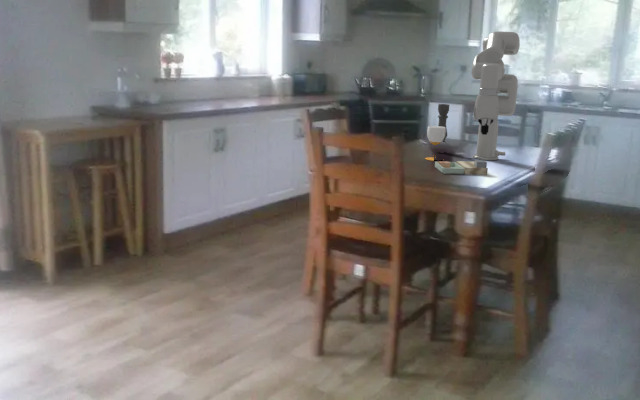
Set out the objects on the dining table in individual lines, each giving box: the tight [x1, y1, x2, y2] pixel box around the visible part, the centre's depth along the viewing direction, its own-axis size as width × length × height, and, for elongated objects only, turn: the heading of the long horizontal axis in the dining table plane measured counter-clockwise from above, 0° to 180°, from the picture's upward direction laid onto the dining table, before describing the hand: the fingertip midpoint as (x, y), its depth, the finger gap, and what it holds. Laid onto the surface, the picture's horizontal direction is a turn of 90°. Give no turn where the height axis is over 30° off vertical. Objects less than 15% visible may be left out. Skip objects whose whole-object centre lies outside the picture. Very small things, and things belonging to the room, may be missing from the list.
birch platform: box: [456, 160, 488, 176], centre depth 305 cm, size 10×16×3 cm, turn 3°
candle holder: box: [437, 103, 450, 143], centre depth 352 cm, size 6×6×25 cm
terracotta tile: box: [437, 160, 451, 168], centre depth 309 cm, size 4×4×2 cm
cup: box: [424, 125, 447, 162], centre depth 330 cm, size 9×9×16 cm
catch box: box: [434, 161, 465, 175], centre depth 305 cm, size 10×16×2 cm, turn 3°
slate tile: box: [473, 159, 488, 168], centre depth 300 cm, size 4×4×2 cm
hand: (484, 134), depth 300 cm, fingers closed
